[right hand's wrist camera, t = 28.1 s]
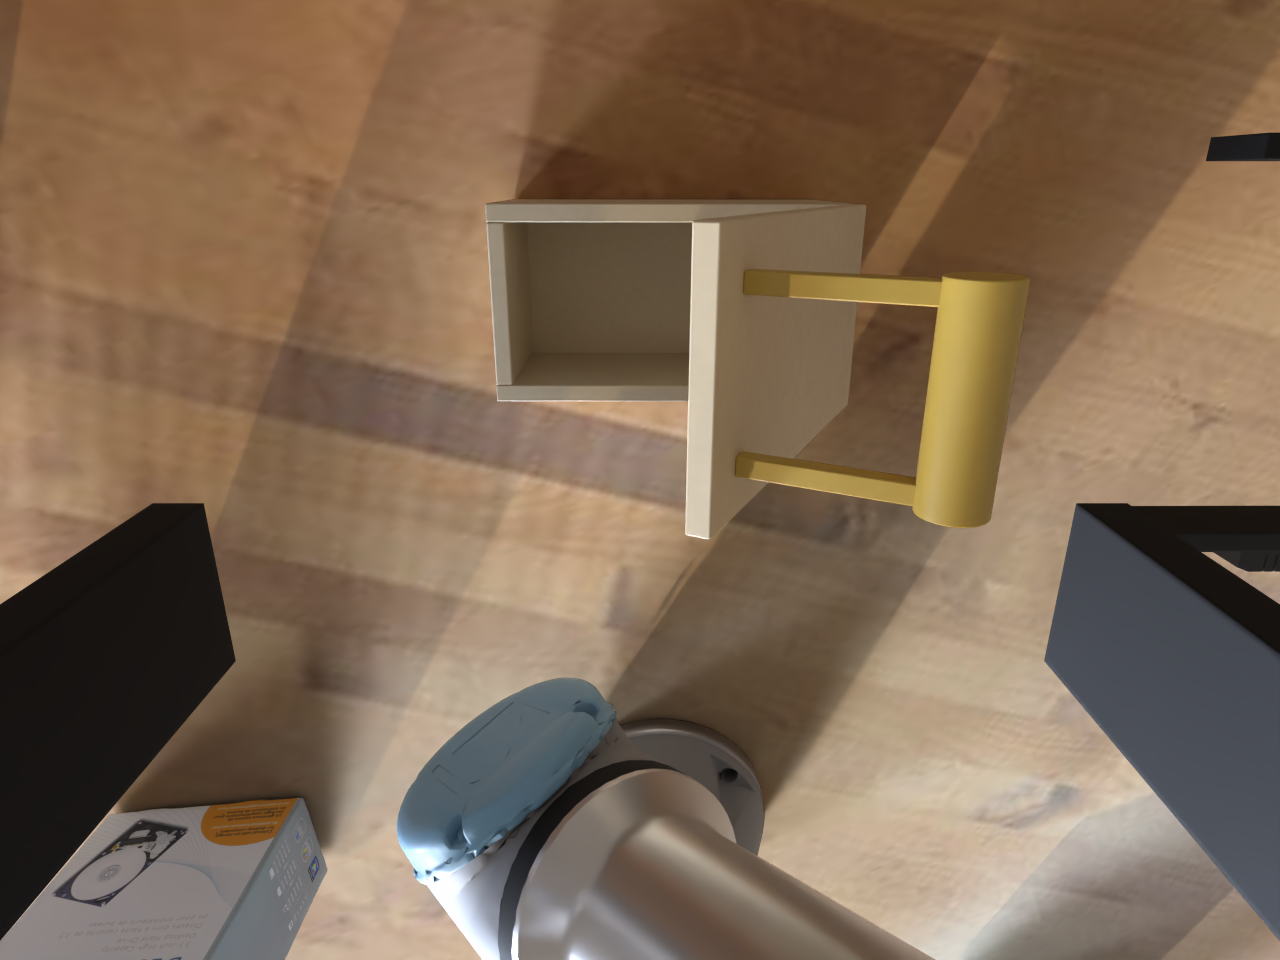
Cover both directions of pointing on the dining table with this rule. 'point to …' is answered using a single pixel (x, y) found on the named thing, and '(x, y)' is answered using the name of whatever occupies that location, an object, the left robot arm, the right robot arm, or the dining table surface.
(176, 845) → the hard drive box
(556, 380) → the chest
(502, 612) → the dining table surface
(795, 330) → the lid
